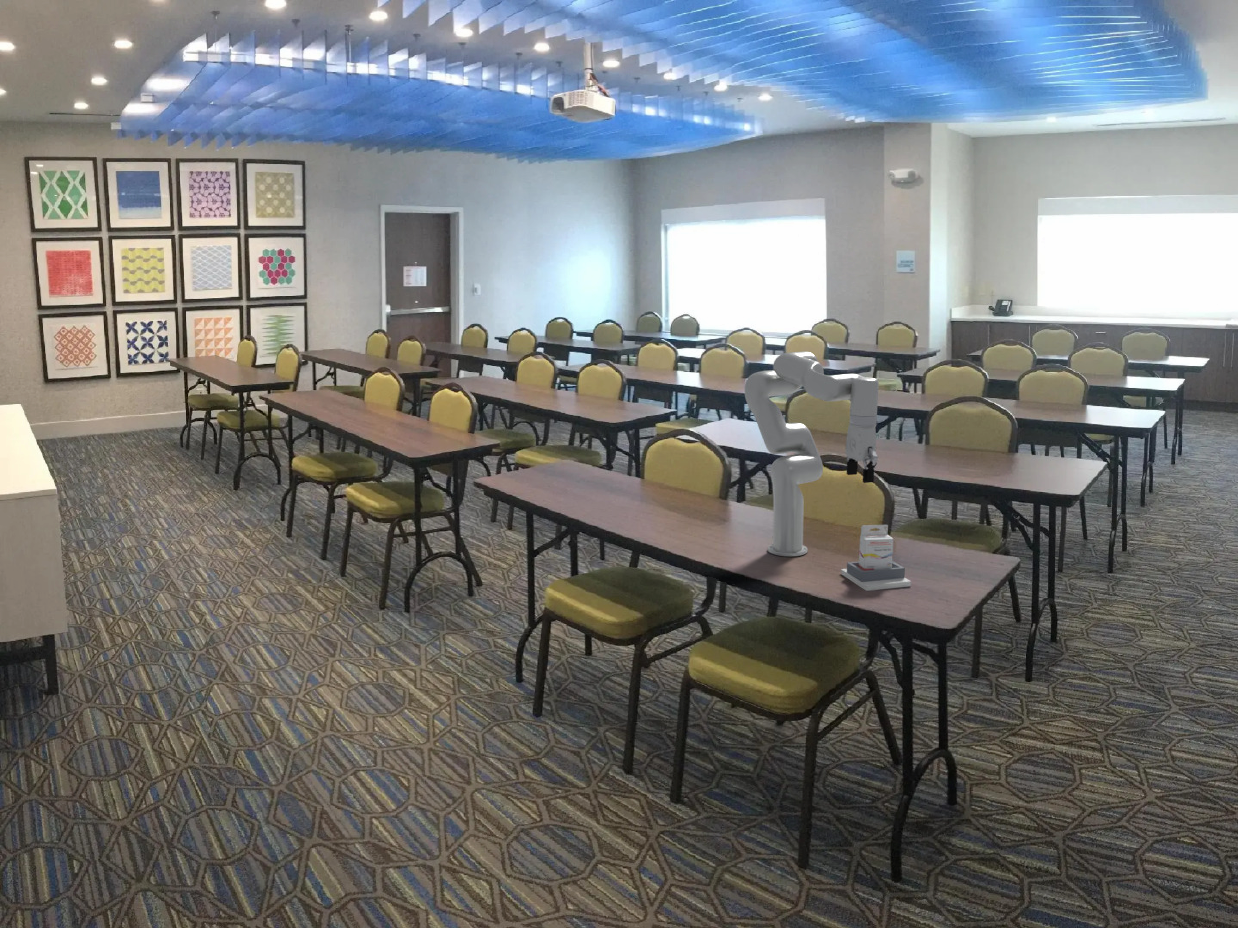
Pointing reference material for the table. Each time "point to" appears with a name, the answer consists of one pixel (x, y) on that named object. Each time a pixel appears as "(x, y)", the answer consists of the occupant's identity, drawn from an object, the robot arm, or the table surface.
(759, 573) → the table surface
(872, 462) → the robot arm
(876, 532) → the ink cartridge box
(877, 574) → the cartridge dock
